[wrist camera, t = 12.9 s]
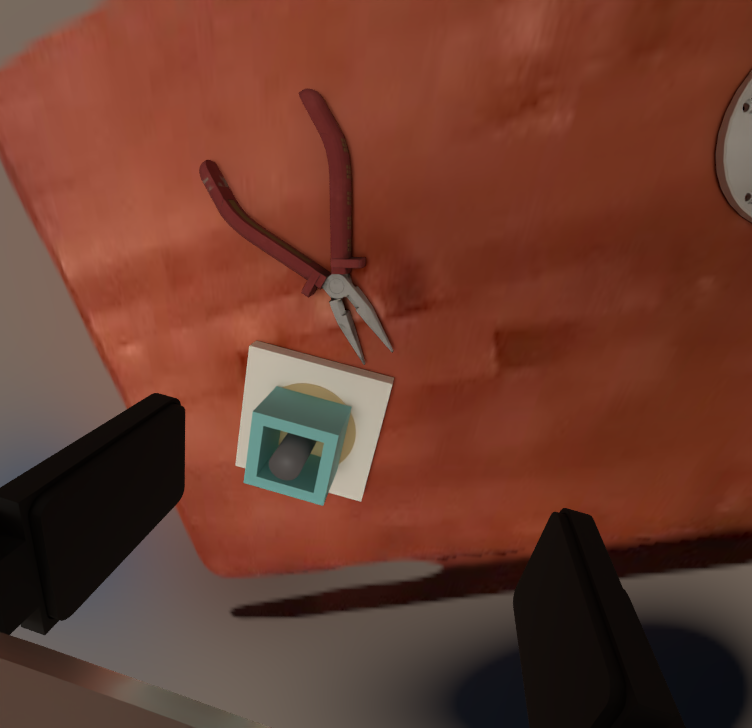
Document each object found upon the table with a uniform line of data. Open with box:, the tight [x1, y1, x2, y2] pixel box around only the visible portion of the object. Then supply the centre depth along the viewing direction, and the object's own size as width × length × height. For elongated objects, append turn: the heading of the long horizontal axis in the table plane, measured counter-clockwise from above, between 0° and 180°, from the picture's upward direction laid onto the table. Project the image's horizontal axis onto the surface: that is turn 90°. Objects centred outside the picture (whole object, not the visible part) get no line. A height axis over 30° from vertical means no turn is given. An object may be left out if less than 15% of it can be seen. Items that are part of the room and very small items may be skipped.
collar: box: [244, 386, 352, 506], centre depth 35 cm, size 7×7×5 cm
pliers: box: [199, 89, 393, 365], centre depth 33 cm, size 12×20×3 cm, turn 28°
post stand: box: [235, 341, 394, 502], centre depth 35 cm, size 13×13×8 cm
